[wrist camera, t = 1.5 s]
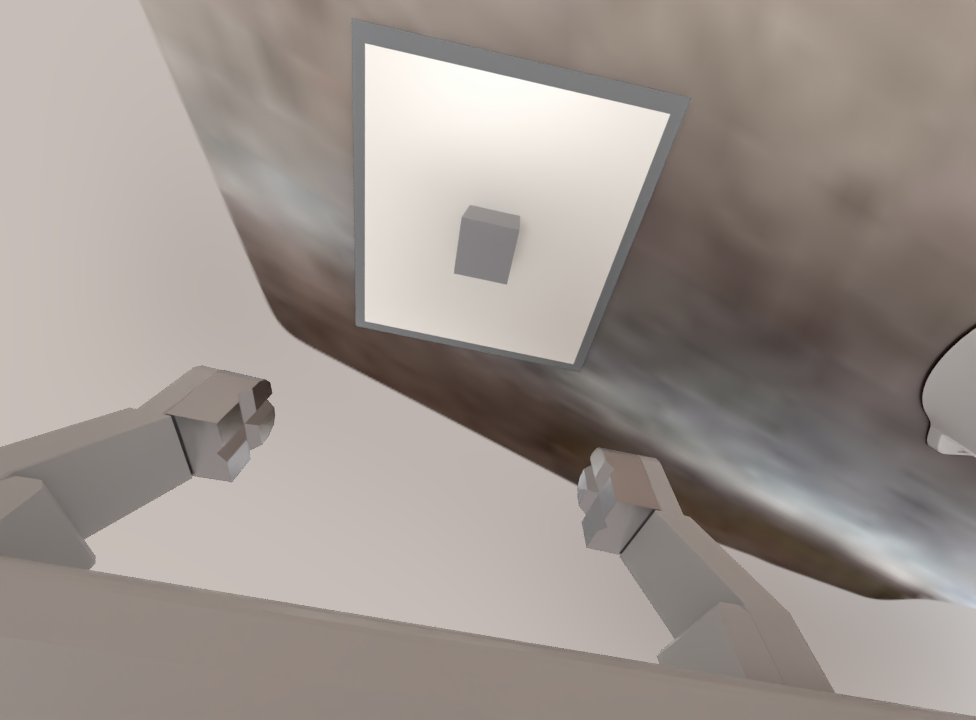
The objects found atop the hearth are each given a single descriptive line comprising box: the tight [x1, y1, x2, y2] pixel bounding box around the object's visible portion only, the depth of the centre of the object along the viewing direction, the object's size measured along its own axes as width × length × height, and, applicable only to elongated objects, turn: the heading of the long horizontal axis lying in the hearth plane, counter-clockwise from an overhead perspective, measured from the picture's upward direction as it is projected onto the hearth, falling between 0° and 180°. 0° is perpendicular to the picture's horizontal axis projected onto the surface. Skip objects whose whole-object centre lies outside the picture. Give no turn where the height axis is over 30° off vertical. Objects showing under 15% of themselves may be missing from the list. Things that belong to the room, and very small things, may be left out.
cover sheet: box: [365, 43, 670, 364], centre depth 24 cm, size 18×18×5 cm
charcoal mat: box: [352, 19, 691, 372], centre depth 26 cm, size 20×20×1 cm
